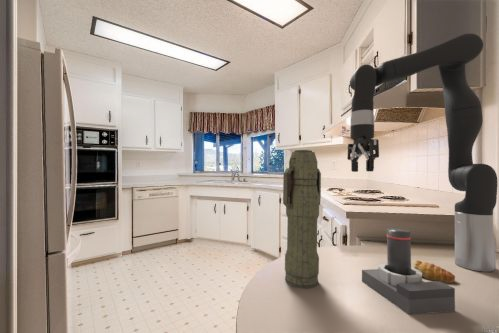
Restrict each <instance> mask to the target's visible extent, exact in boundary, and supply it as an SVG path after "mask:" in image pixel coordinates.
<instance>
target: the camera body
mask: <svg viewBox="0 0 499 333" xmlns="http://www.w3.org/2000/svg"><path fill="white" fill-rule="evenodd" d="M361 282H363V283H364V284H365V285H367V286H368V287H370V288H371V289H373V291H375V292H377V293H378V294H380V295H381V296H382V297H384V298H385V299H387V300H388V301H389V302H391V303H392V304H393V305H394V306H397V307H398V308H399V309H401V310H402V311H403V312H405V313H406V314H407V315H419V314H420V315H423V314H424V315H425V314H434V313H435V314H436V313H448V312H449V313H450V312H455V311H456V306H455V304H456V299H455V298H456V295H455V294H456V291H455V290H456V289H455V288H454V287H453V286H451V285H449V284H447V283H444V282H440V281H424V280H423V276H422V272H421V271H419V270H417V269H415V268H414V267H413V266H411V275H401V274H396V273H392V272H390V271H388V266H387V262H385V263H384V262H383V263H380V264H379V265H378V268H377V269H376V268H375V269H373V268H372V269H361Z"/></svg>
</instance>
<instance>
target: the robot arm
mask: <svg viewBox="0 0 499 333" xmlns="http://www.w3.org/2000/svg"><path fill="white" fill-rule="evenodd" d="M483 48H484V41H483V39H482V38H481V37H480V36H479V35H477V34H475V33H472V32H471V33H468V32H467V33H462V34H460V35H457V36H456V37H454V38H451V39H448V40H447V41H445V42H443V43H442V42H441V43H440V44H436V45H434V46H432V47H429V48H427V49H424V50H421V51H418V52H413V53H410V54H408V55H404V56H401V57H397V58H394V59H390V60H386V61H383V62H381V63H380V64H379V65H378V66H376V67H373V66H372V65H371V64H363V65H360V66H359V67H357V69H356V70H355V71H354V73H353V74H352V76H351V78H350V79H349V86H350V88H351V89H352V90H353V92H354V93H353V97H352V99H351V112H350V114H351V115H350V139H351V140H353V143H348V144H347V160H348V161H350V162H351V170H350V171H351V172H354V173H355V172H356V173H357V172H359V159H360V158H361V157H362V155H363V156H364V157H365V159H366V160H365V162H366V163H365V165H366V166H365V170H366V172H374V169H375V160H376V159H377V158H379V157H380V147H379V146H380V144H379V139H377V138H376V139H375V115H374V114H375V113H374V104H375V103H374V96H375V91H376V87H379V86H381V85H382V84H383V85H384V84H386V83H390V82H394V81H398V80H402V79H405V78H408V77H411V76H413V75H415V74H418V73H421V72H423V71H425V70H428V69H430V68H433V67H437V69H438V73H439V77H440V81H441V85H442V94H443V103H444V114H445V115H444V116H445V124H446V130H447V131H446V134H447V146H448V162H447V164H448V167H447V172H448V175H447V177H448V181H449V184H450V186H451V187H452V188H453V189H455V190H456V191H458V192H459V191H460V192H465V194H464V195H465V196H464V198H463V199H462V200H461V201H457V202H455V204H454V263H455V265H457V266H459V267H462V268H465V269H467V270H472V271H478V272H486V273H491V272H494V270H496V269H497V266H496V265H497V260H496V259H497V258H496V257H497V256H496V246H497V244H496V239H495V237H494V210H495V207H496V206H497V195H498V174H497V172H496V170H495V169H494V167H492V166H490V165H488V164H485V163H474V160H473V149H474V148H473V147H474V144H475V142H476V140H477V138H478V136H479V133H480V131H481V129H482V126H483V110H482V104H481V100H480V99H479V97H478V96H477V94H476V93H475V91H473V89H472V88H471V87H470V86H469V83H468V81H467V76H466V65H467V64H469V63H470V62H472V61H474V60H475V59H476V58H477V57H478V56H480V54H481V52H482V51H483Z"/></svg>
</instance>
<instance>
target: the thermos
mask: <svg viewBox="0 0 499 333" xmlns="http://www.w3.org/2000/svg"><path fill="white" fill-rule="evenodd" d="M282 184H283V186H282V187H283V188H282V190H283V191H282V192H283V194H282V204H283V205H284V206H285V214H286V217H287V228H286V230H287V232H286V233H287V234H286V235H287V237H286V238H287V239H286V240H287V242H286V251H285V253H284V270H285V271H284V272H285V277H284V278H285V280H284V281H285V282H286V283H287V284H289V285H290V286H292V287H295V288H301V289H311V288H315V287H317V286H318V285H319V277H318V276H319V274H320V271H319V270H320V256H319V253H318V219H319V216H320V205H321V196H322V194H321V193H322V191H321V190H322V187H321V186H322V172H321V171H320V169H319V168H318V160H317V156H316V152H315V151H313V150H310V149H298V150H294V151H293V152H291V155H290V157H289V161H288V167H287V168H286V169H285V170H284V172H283V182H282Z"/></svg>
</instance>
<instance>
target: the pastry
mask: <svg viewBox="0 0 499 333" xmlns="http://www.w3.org/2000/svg"><path fill="white" fill-rule="evenodd" d="M413 268H415V269H417V270H419V271H421V272H422V278H425V279H427V280H431V281H433V282H435V281H440V282H442V283H444V284H447V283H449V284H450V283H451V284H452V283H454V282H455V280H456V276H455V274H453V273H452V272H450V271H448V270H446V269H445V268H442V267H441V266H439V265H435V264H434V263H429V262H427V261H424V262H423V261H421V260H416V261H415V263H414V265H413Z"/></svg>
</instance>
